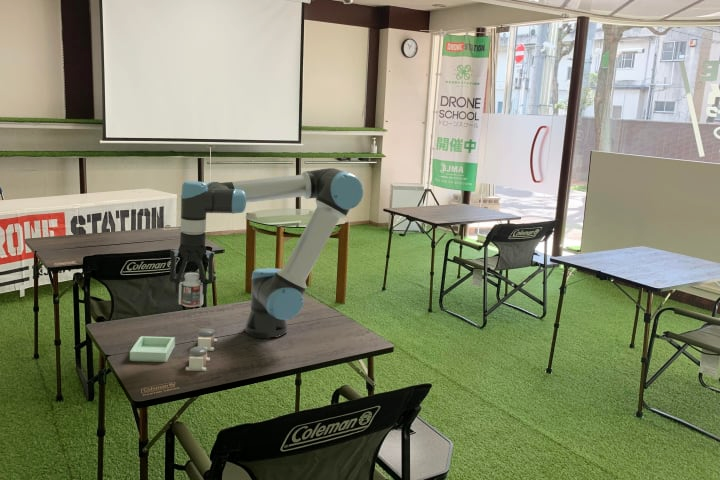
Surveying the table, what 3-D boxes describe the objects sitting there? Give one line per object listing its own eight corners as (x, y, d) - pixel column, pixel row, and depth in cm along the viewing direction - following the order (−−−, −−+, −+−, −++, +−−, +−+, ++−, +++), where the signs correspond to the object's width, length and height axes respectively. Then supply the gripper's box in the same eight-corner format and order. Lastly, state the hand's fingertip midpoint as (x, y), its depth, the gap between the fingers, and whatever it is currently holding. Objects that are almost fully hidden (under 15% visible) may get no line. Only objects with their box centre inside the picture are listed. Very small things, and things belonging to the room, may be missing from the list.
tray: (174, 345, 208) (174, 337, 207) (166, 361, 195) (166, 352, 194) (140, 344, 207) (140, 336, 206) (129, 360, 194) (129, 351, 193)
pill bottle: (195, 308, 195) (196, 277, 193) (178, 306, 196) (179, 275, 194) (203, 303, 200) (204, 273, 198) (186, 300, 201) (187, 271, 199)
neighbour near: (207, 361, 197) (208, 347, 196) (205, 368, 192) (205, 353, 191) (191, 361, 197) (191, 346, 196) (188, 368, 192) (188, 353, 191)
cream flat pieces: (217, 340, 214) (217, 329, 213) (205, 370, 191) (206, 358, 190) (199, 340, 214) (199, 329, 213) (185, 370, 190) (185, 358, 189)
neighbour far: (215, 342, 213) (215, 328, 212) (213, 348, 208) (213, 334, 207) (199, 342, 212) (199, 328, 211) (197, 348, 207) (197, 333, 206)
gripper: (225, 231, 198) (222, 301, 203) (164, 227, 196) (163, 298, 200) (222, 236, 190) (219, 308, 195) (159, 232, 188) (157, 305, 193)
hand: (191, 303), depth 198 cm, fingers closed on pill bottle, 6 cm apart
